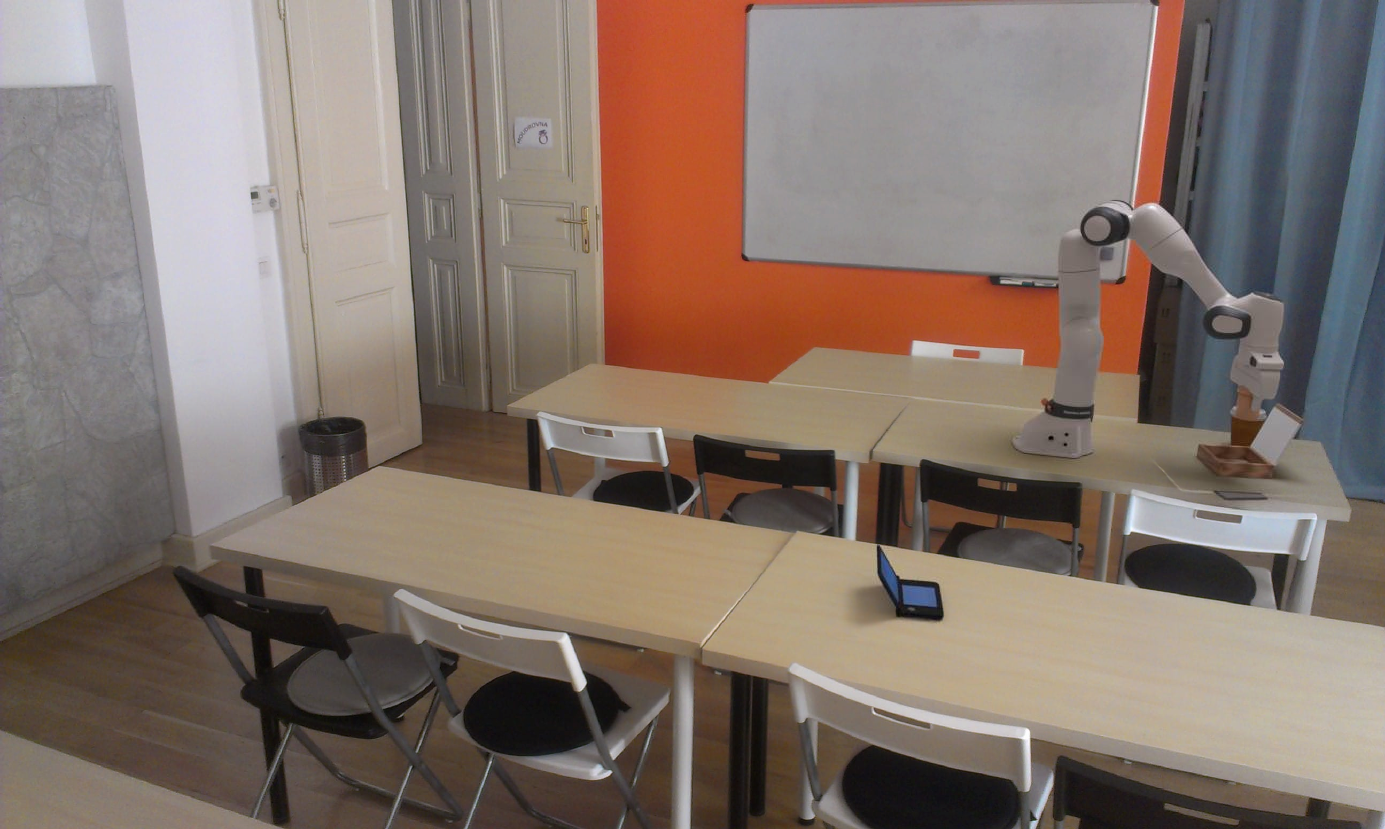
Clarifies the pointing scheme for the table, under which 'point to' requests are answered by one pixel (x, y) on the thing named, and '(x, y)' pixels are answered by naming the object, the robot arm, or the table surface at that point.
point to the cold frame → (1234, 461)
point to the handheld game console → (910, 592)
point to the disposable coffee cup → (1245, 429)
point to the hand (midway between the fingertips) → (1248, 406)
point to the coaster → (1241, 495)
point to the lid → (1276, 434)
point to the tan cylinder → (1245, 406)
